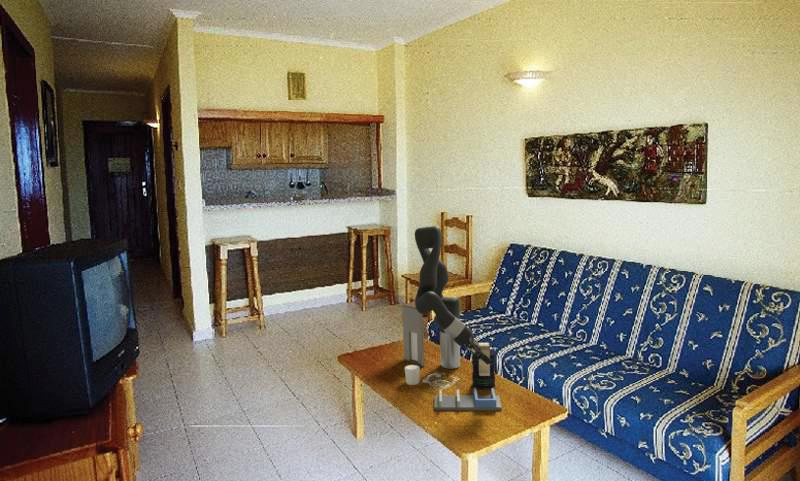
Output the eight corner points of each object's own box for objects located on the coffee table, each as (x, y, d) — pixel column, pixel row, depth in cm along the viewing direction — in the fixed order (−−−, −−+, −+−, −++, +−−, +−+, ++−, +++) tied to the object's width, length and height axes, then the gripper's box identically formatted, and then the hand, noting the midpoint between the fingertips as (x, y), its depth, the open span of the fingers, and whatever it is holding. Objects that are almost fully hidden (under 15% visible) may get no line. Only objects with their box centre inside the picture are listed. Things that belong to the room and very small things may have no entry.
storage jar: (500, 386, 229) (499, 345, 226) (481, 391, 224) (481, 350, 222) (485, 378, 237) (484, 339, 235) (467, 383, 233) (466, 343, 230)
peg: (478, 371, 212) (478, 342, 211) (488, 371, 212) (488, 342, 210) (479, 375, 208) (479, 346, 207) (489, 375, 208) (489, 346, 206)
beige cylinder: (422, 380, 238) (421, 365, 237) (417, 386, 232) (417, 370, 231) (407, 378, 240) (407, 363, 240) (402, 384, 234) (402, 369, 233)
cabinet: (424, 366, 254) (422, 309, 251) (404, 367, 255) (401, 310, 251) (422, 351, 275) (421, 298, 271) (404, 352, 275) (402, 299, 272)
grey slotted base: (434, 398, 219) (434, 388, 218) (498, 398, 217) (498, 388, 216) (434, 410, 208) (434, 400, 208) (501, 410, 206) (501, 399, 205)
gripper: (465, 330, 201) (497, 360, 202) (463, 319, 215) (494, 348, 216) (451, 343, 202) (484, 374, 203) (450, 332, 216) (481, 360, 217)
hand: (489, 360), depth 209 cm, fingers closed on peg, 4 cm apart
